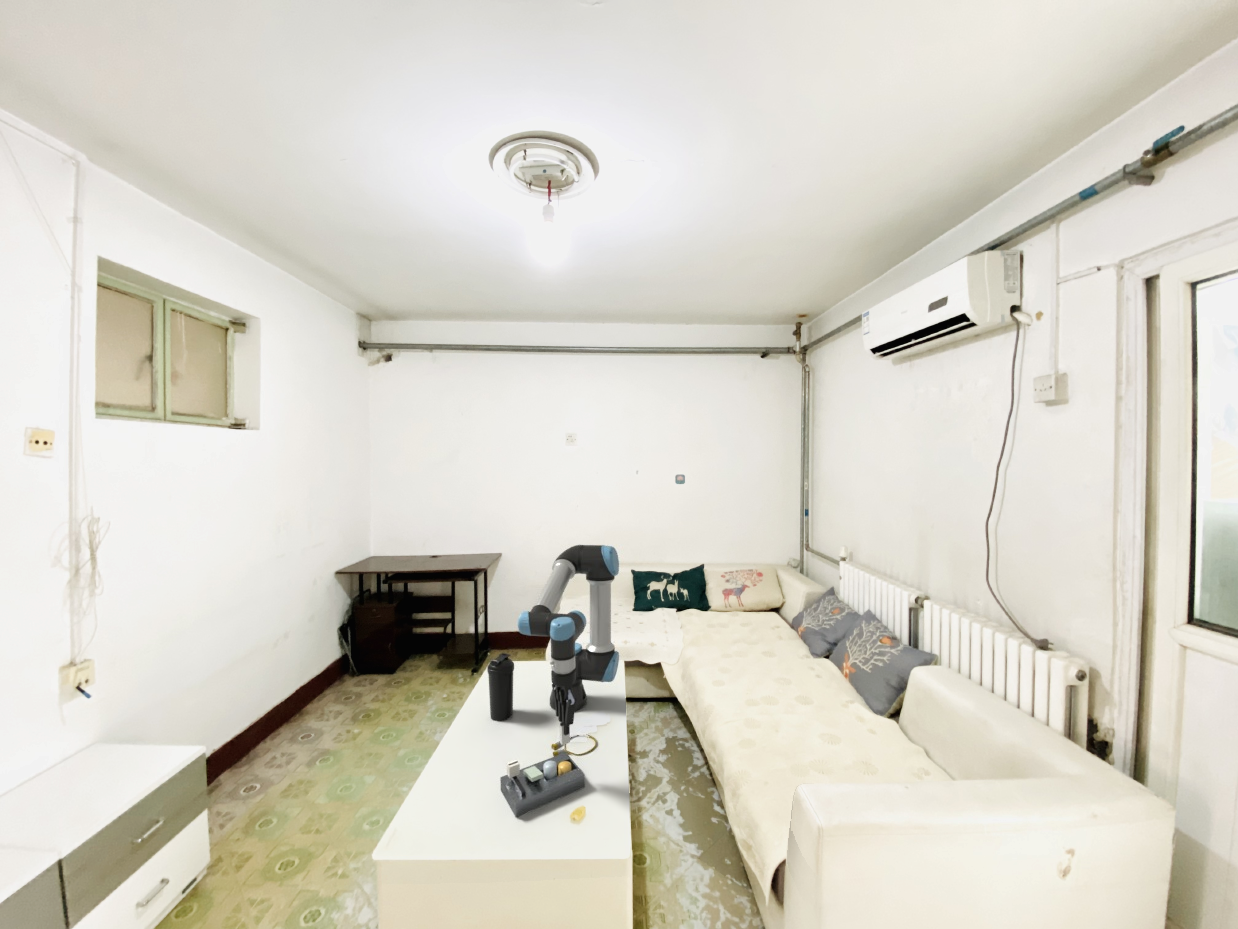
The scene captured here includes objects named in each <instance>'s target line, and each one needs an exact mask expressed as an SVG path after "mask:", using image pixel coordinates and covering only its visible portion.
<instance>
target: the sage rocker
mask: <svg viewBox="0 0 1238 929" xmlns="http://www.w3.org/2000/svg"><path fill="white" fill-rule="evenodd" d="M523 772H524V775H526V776H527V777H528V778H529V779H530V780H531V781H532V782H533V781H536V780H538V779H541V778H543V773H542V772H541V771H540V770H538V769H537V768H536V767H535V766H533V767H530V768H528V769H525V770H523Z"/></svg>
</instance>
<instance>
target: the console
mask: <svg viewBox="0 0 1238 929" xmlns="http://www.w3.org/2000/svg"><path fill="white" fill-rule="evenodd" d="M566 752H567V751H566ZM566 752H565V753H562V754H560V755H557V756H551V757H549V758H547V759H543V760H542V761H539V762H537V763H534V764H532V765H529V766H526V767H524V768H521V769H520V774H519V775H516V776H514V777H511V778H509V776H508V775H507V774H505V775H502V776H500V778H499V779H500V791H501V794H502V795H503V797H504V799H505V800H506V803H507V804H508V806H509V808H510V810H511V811H512V813H513V815H514V817H515V818H518V817H521V816H522V815H525V814H527V813H529V812H532V811H534V810H536V809H539V808H541V807H543V806H546V805H547V804H549V803H552V802H555V801H557V800H558V799H559V800H560V799H561V798H563V797H566V796H569V795H570V794H572V793H574V792H577V791H580V790H582V789H584V788H585V785H586V782H585V781H586V779H585V773H584V771H582V769H581V768H580V767H579V766H578V765H577V764H576V762H575V761H574V760H573V758H571V757H570V755H569V754H567V753H566ZM547 761H555V762H556V763H557V777H555V778H552V779H550V780H548V781H546V780H545V778H544V767H543V765H544V763H545V762H547ZM563 761H568V762H570V763H571V771H569V772H567V773H565V774H562V775H560V776H559V772H558V765H559V763H561V762H563ZM533 766H535V767H536V768H537V769H538V770H540V771H541V772H542V773H543V778H541V779H538V780H536V781H533V782H532V781H531V780H530V779H529V778H528V777H527V776H526V775H524V772H523V770H525V769H528V768H530V767H533Z"/></svg>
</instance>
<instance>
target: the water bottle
mask: <svg viewBox="0 0 1238 929" xmlns="http://www.w3.org/2000/svg"><path fill="white" fill-rule="evenodd" d="M510 657H511V654H509V653H503V652H502V653H500V654H498V656H497V657H496V658H493V659H490V661H489V663H488V665H487V669H486V670H487V674H488V691H489V692H488V693H489V709H490V710H489V712H490V719H491V720H492V721H495V722H503V721H507V720H509V719H510V718H512V717H513V714H514V709H513V708H514V670H515V663H514V661H513V660H512V659H511V658H510Z"/></svg>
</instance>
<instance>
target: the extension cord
mask: <svg viewBox="0 0 1238 929" xmlns="http://www.w3.org/2000/svg"><path fill="white" fill-rule="evenodd" d="M587 735H588V736H589V739H592V740H593V741H594V746H593V747H591V749H589V750H587V751H585V752H582V753H575V752H571V751H570V750H567V748H566V746H567V744H564V748H563V749H559V748H560V747H561V746H562V745H561V743H560V740H559V741H557V742H555V743H552V744H551V746H550V747H551V750H554V751H552V757H554V756H557V755H560V754H562V753H565V752H566V753H567V754H568V755H569V756H572V755H573V756H574V755H575V756H584V755H587V754H589V753H591V752H593V751H594V750H595V748H596V746H597V744H598V743H597V739H596V738H595V737H593V736H592V735H590V734H587Z"/></svg>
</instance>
